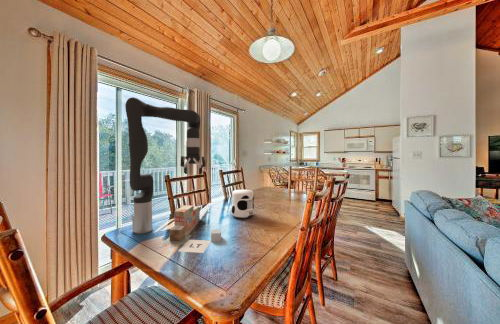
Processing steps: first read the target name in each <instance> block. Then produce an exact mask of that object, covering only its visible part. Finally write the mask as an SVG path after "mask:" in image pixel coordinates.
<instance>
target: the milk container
mask: <svg viewBox="0 0 500 324" xmlns="http://www.w3.org/2000/svg"><path fill="white" fill-rule="evenodd" d="M231 196H232V197H231V198H232V199H231V201H232V204H231V208H230V212H231V213H230V214H231V215H232V216H233V217H235V218H237V219H250V218H252V217H253V216H254V215H255V212H256V207H255V193H254V190H251V189H235V190H233V191H232V195H231Z"/></svg>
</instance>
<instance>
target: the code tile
mask: <svg viewBox="0 0 500 324" xmlns="http://www.w3.org/2000/svg"><path fill="white" fill-rule="evenodd" d="M211 243H212V242H211V240H204V239H203V240H202V239H188V240H187V241H186V242H185V243H184V244H183V246H181V247H180V249H178V252H180V253H181V252H185V253H197V254H198V253H199V254H204V253H205V252H206V250H207V249H208V246H209V245H210V244H211Z"/></svg>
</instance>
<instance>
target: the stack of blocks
mask: <svg viewBox="0 0 500 324" xmlns="http://www.w3.org/2000/svg"><path fill="white" fill-rule="evenodd" d="M200 211H201V210H200V206H199V205H197V206H196V205H187V204H184V205H183V206H181V207H180V208H178V209H176V210H174V211H173V212H174V216H173V220H174V226H175V225H176V226H185V231H187V230H188V229H190V228H191V227H193V226H194V225H196V223H197V222H199V221H200V218H201V216H200V215H201V214H200Z"/></svg>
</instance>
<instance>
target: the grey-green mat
mask: <svg viewBox="0 0 500 324" xmlns="http://www.w3.org/2000/svg"><path fill="white" fill-rule="evenodd" d="M191 237H192V234H185V237H184V238H183V239H182V240H181V241H180V242H177V241H170V236H169V237H167V238H166V239H165V240H164V241H163V242H162V244H165V245H167V244H168V245H169V244H170V245H184V244H185V243H186V242H187V241H188V240H190V238H191Z"/></svg>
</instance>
